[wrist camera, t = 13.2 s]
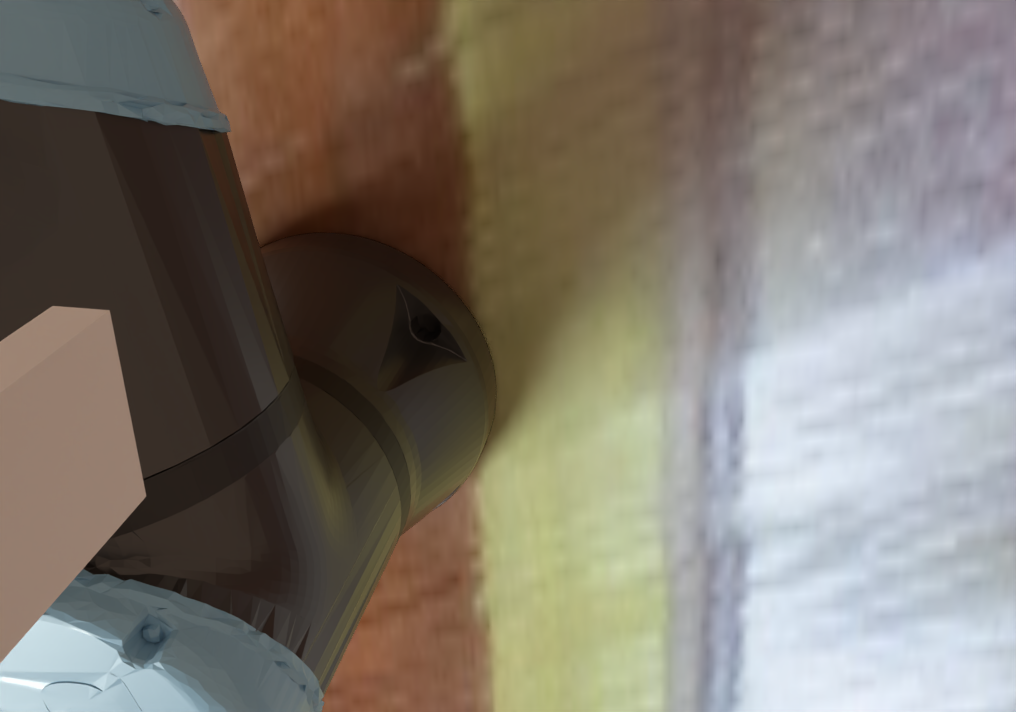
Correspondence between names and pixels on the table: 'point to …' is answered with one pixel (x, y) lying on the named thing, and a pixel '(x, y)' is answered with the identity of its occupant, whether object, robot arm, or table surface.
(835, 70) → the table surface
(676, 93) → the table surface
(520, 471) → the table surface
